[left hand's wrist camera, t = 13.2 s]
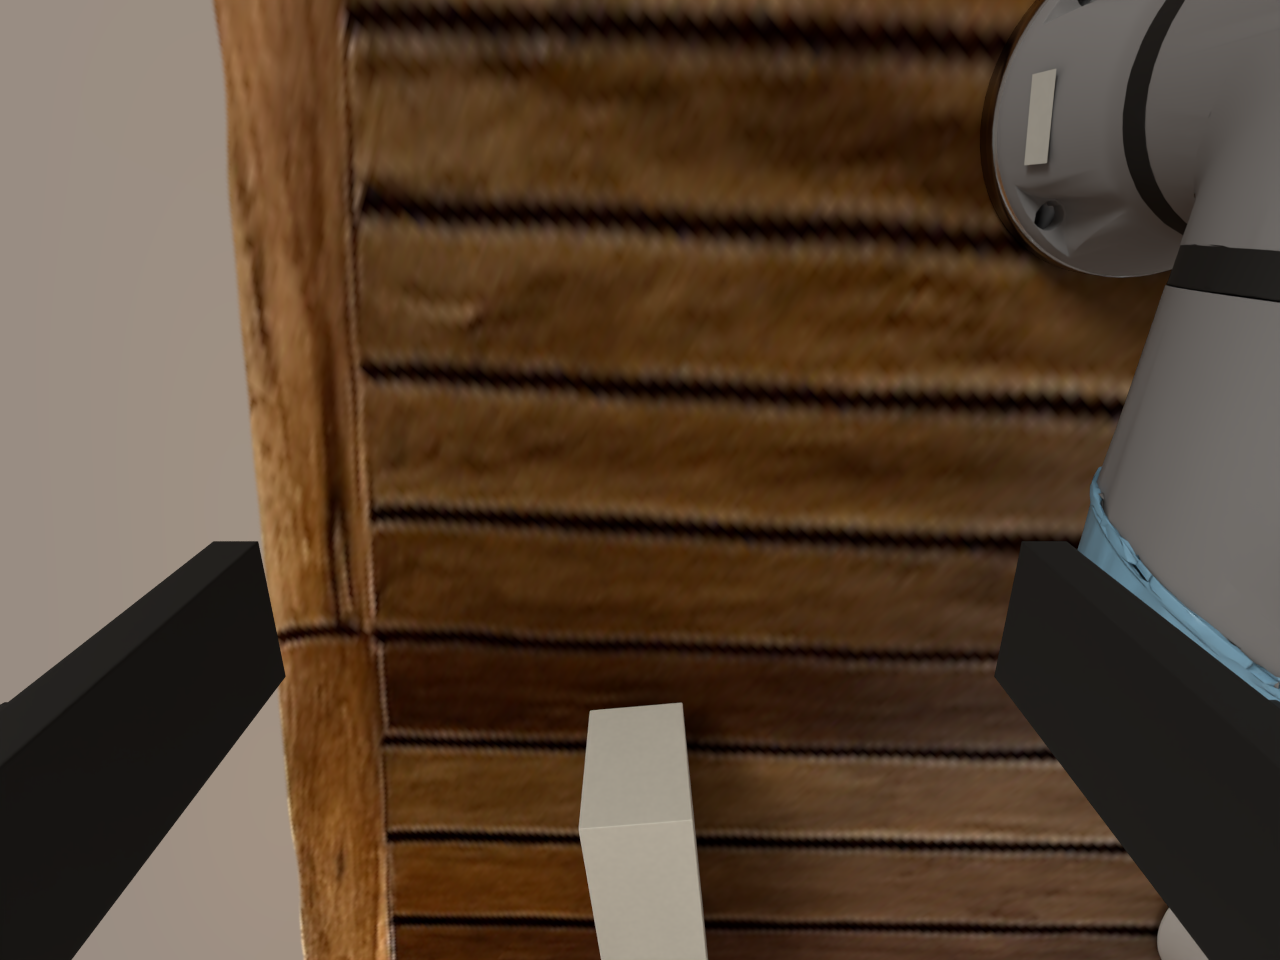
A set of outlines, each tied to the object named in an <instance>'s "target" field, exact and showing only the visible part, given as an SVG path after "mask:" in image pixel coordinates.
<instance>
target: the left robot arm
mask: <svg viewBox="0 0 1280 960" xmlns="http://www.w3.org/2000/svg"><path fill="white" fill-rule="evenodd" d="M980 154H981V165H982V170H983V176H984V181H985V184H986V188H987V191H988V194H989V197H990V199H991V202H992V204H993V207H994V209H995V210H996V212H997V214H998V216H999V218H1000V220H1001V221H1002V222H1003V224H1004V225H1005V227H1006V228H1007V230H1008V231H1009V232H1010V233H1011V234H1012V236H1013V237H1014V238H1015V239H1016V240H1017V241H1018V242H1019V243H1020V244H1021V245H1022V246H1024V247H1025V248H1026V249H1027V250H1028V251H1030V252H1031V253H1033V254H1034V255H1035V256H1037V257H1038V258H1040V259H1042V260H1044V261H1046V262H1048V263H1050V264H1052V265H1055V266H1057V267H1060V268H1062V269H1066V270H1070V271H1073V272H1079V273H1085V274H1092V275H1098V276H1105V277H1121V278H1122V277H1138V276H1145V275H1152V274H1156V273H1160V272H1164V271H1168V270H1171V269H1172V271H1171V274H1170V277H1169V280H1168V282H1167V284H1168V285H1165V288H1164V291H1163V294H1162V296H1161V299H1160V302H1159V305H1158V308H1157V311H1156V314H1155V317H1154V320H1153V323H1152V326H1151V328H1150V331H1149V334H1148V337H1147V340H1146V343H1145V346H1144V349H1143V352H1142V355H1141V358H1140V361H1139V363H1138V366H1137V369H1136V372H1135V375H1134V378H1133V381H1132V384H1131V387H1130V390H1129V393H1128V395H1127V398H1126V401H1125V404H1124V407H1123V410H1122V413H1121V416H1120V419H1119V422H1118V425H1117V427H1116V430H1115V433H1114V436H1113V438H1112V441H1111V444H1110V446H1109V449H1108V452H1107V455H1106V457H1105V460H1104V463H1103V465H1102V467H1099V468H1098V469H1097V471H1096V473H1095V475H1094V477H1093V480H1092V483H1091V485H1090V501H1091V503H1090V507H1089V511H1088V515H1087V519H1086V523H1085V526H1084V530H1083V534H1082V537H1081V540H1080V544H1079V547H1078V550H1077V549H1075V548H1074V547H1073V546H1072V545H1070V544H1069V543H1068V542H1067V541H1022V543H1021V548H1020V553H1019V558H1018V563H1017V568H1016V573H1015V578H1014V583H1013V588H1012V593H1011V597H1010V602H1009V607H1008V612H1007V617H1006V622H1005V627H1004V632H1003V637H1002V642H1001V647H1000V651H999V656H998V661H997V666H996V671H995V676H994V677H995V678H996V679H997V681H998V682H999V683H1000V685H1001V686H1002V687H1003V688H1004V690H1005V691H1006V692H1007V694H1008V695H1009V696H1010V698H1011V699H1012V700H1013V702H1014V703H1015V704H1016V706H1017V707H1018V708H1019V710H1020V711H1021V712H1022V714H1023V715H1024V716H1025V718H1026V719H1027V720H1028V722H1029V723H1030V724H1031V726H1032V727H1033V728H1034V729H1035V731H1036V732H1037V733H1038V735H1039V736H1040V737H1041V739H1042V740H1043V741H1044V743H1045V744H1046V745H1047V747H1048V748H1049V749H1050V751H1051V752H1052V753H1053V755H1054V756H1055V757H1056V759H1057V760H1058V761H1059V763H1060V764H1061V765H1062V767H1063V768H1064V769H1065V771H1066V772H1067V773H1068V774H1069V776H1070V777H1071V778H1072V780H1073V781H1074V782H1075V784H1076V785H1077V786H1078V788H1079V789H1080V790H1081V792H1082V793H1083V794H1084V796H1085V797H1086V798H1087V800H1088V801H1089V802H1090V804H1091V805H1092V806H1093V808H1094V809H1095V810H1096V812H1097V813H1098V814H1099V815H1100V817H1101V818H1102V819H1103V821H1104V822H1105V823H1106V825H1107V826H1108V827H1109V829H1110V830H1111V831H1112V833H1113V834H1114V835H1115V837H1116V838H1117V839H1118V841H1119V842H1120V843H1121V845H1122V846H1123V847H1124V849H1125V850H1126V851H1127V853H1128V854H1129V855H1130V856H1131V858H1132V859H1133V860H1134V862H1135V863H1136V864H1137V866H1138V867H1139V868H1140V870H1141V871H1142V872H1143V874H1144V875H1145V876H1146V878H1147V879H1148V880H1149V882H1150V883H1151V884H1152V886H1153V887H1154V888H1155V890H1156V891H1157V892H1158V894H1159V895H1160V896H1161V897H1162V899H1163V900H1164V901H1165V903H1166V904H1167V905H1168V907H1169V908H1170V909H1171V911H1172V912H1173V913H1174V915H1175V916H1176V917H1177V919H1178V920H1179V921H1180V923H1181V924H1182V925H1183V927H1184V928H1185V929H1186V931H1187V932H1188V933H1189V935H1190V936H1191V937H1192V939H1193V940H1194V941H1195V942H1196V944H1197V945H1198V946H1199V948H1200V949H1201V950H1202V952H1203V953H1204V954H1205V956H1206V957H1207V958H1208V960H1280V0H1036V1H1035V2H1034V3H1033V4H1032V6H1031V7H1030V8H1029V9H1028V11H1027V12H1026V13H1025V14H1024V16H1023V17H1022V19H1021V20H1020V22H1019V23H1018V25H1017V26H1016V28H1015V29H1014V31H1013V32H1012V34H1011V36H1010V38H1009V39H1008V41H1007V43H1006V45H1005V47H1004V49H1003V51H1002V53H1001V55H1000V57H999V59H998V61H997V64H996V66H995V69H994V72H993V74H992V77H991V80H990V83H989V86H988V90H987V94H986V97H985V102H984V107H983V112H982V120H981V129H980ZM285 677H286V676H285V671H284V666H283V661H282V656H281V651H280V647H279V642H278V637H277V632H276V627H275V622H274V617H273V612H272V607H271V602H270V597H269V593H268V588H267V583H266V578H265V573H264V568H263V563H262V558H261V553H260V548H259V543H258V541H241V542H240V541H232V542H231V541H220V542H219V541H214V542H212V543H211V544H210V545H208V546H207V547H206V548H205V549H203V550H202V551H201V552H199V553H198V554H197V555H196V556H194V557H193V558H192V559H190V560H189V561H188V562H187V563H185V564H184V565H183V566H182V567H180V568H179V569H178V570H176V571H175V572H174V573H173V574H171V575H170V576H169V577H167V578H166V579H165V580H164V581H162V582H161V583H160V584H159V585H157V586H156V587H155V588H154V589H152V590H151V591H150V592H148V593H147V594H146V595H145V596H143V597H142V598H141V599H139V600H138V601H137V602H136V603H134V604H133V605H132V606H131V607H129V608H128V609H127V610H125V611H124V612H123V613H122V614H120V615H119V616H118V617H116V618H115V619H114V620H113V621H111V622H110V623H109V624H107V625H106V626H105V627H104V628H102V629H101V630H100V631H99V632H97V633H96V634H95V635H93V636H92V637H91V638H90V639H88V640H87V641H86V642H84V643H83V644H82V645H81V646H79V647H78V648H77V649H76V650H74V651H73V652H72V653H70V654H69V655H68V656H67V657H65V658H64V659H63V660H62V661H60V662H59V663H58V664H56V665H55V666H54V667H53V668H51V669H50V670H49V671H47V672H46V673H45V674H44V675H42V676H41V677H40V678H38V679H37V680H36V681H35V682H33V683H32V684H31V685H30V686H28V687H27V688H26V689H24V690H23V691H22V692H21V693H19V694H18V695H17V696H16V697H14V698H13V699H12V700H10V701H9V702H5V703H2V704H1V705H0V960H72V958H73V957H74V956H75V954H76V953H77V952H78V950H79V949H80V948H81V946H82V945H83V944H84V942H85V941H86V940H87V938H88V937H89V936H90V935H91V933H92V932H93V931H94V929H95V928H96V927H97V925H98V924H99V923H100V921H101V920H102V919H103V917H104V916H105V915H106V913H107V912H108V911H109V909H110V908H111V907H112V905H113V904H114V903H115V901H116V900H117V899H118V897H119V896H120V895H121V894H122V892H123V891H124V890H125V888H126V887H127V886H128V884H129V883H130V882H131V880H132V879H133V878H134V876H135V875H136V874H137V872H138V871H139V870H140V868H141V867H142V866H143V864H144V863H145V862H146V860H147V859H148V858H149V856H150V855H151V854H152V852H153V851H154V850H155V849H156V847H157V846H158V845H159V843H160V842H161V841H162V839H163V838H164V837H165V835H166V834H167V833H168V831H169V830H170V829H171V827H172V826H173V825H174V823H175V822H176V821H177V819H178V818H179V817H180V815H181V814H182V813H183V812H184V810H185V809H186V808H187V806H188V805H189V803H190V802H191V801H192V800H193V798H194V797H195V796H196V794H197V793H198V792H199V790H200V789H201V788H202V786H203V785H204V784H205V782H206V781H207V780H208V778H209V777H210V776H211V774H212V773H213V772H214V771H215V769H216V768H217V767H218V765H219V764H220V762H221V761H222V760H223V759H224V757H225V756H226V755H227V753H228V752H229V751H230V749H231V748H232V747H233V745H234V744H235V743H236V741H237V740H238V739H239V737H240V736H241V735H242V733H243V732H244V731H245V729H246V728H247V727H248V726H249V724H250V723H251V722H252V720H253V719H254V718H255V716H256V715H257V714H258V712H259V711H260V710H261V708H262V707H263V706H264V704H265V703H266V702H267V700H268V699H269V698H270V696H271V695H272V694H273V692H274V691H275V690H276V688H277V687H278V686H279V685H280V683H281V682H282V681H283V679H284V678H285Z"/></svg>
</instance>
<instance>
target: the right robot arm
mask: <svg viewBox="0 0 1280 960" xmlns="http://www.w3.org/2000/svg"><path fill="white" fill-rule="evenodd" d="M1157 947H1158V952H1159V955H1160V957H1161V960H1208V958H1207V957H1206V956H1205V954H1204V953H1203V952H1202V950H1201V949H1200V948H1199V946H1198V945H1197V944H1196V942H1195V941H1194V940H1193V939H1192V937H1191V936H1190V935H1189V933H1188V932H1187V931H1186V929H1185V928H1184V927H1183V925H1182V924H1181V923H1180V921H1179V920H1178V919H1177V917H1176V916H1175V915H1174V913H1173V912H1172V911H1171V909H1170V908H1168V910H1167V911H1166V913H1165V915H1164V917H1163V919H1162V921H1161V924H1160V926H1159V930H1158V935H1157Z"/></svg>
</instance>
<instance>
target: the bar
mask: <svg viewBox="0 0 1280 960" xmlns="http://www.w3.org/2000/svg"><path fill="white" fill-rule="evenodd" d="M579 834H580V840H581V846H582V851H583V857H584V863H585V869H586V874H587V880H588V886H589V892H590V897H591V903H592V909H593V915H594V920H595V926H596V932H597V938H598V943H599V949H600V955H601V960H708V955H707V945H706V935H705V925H704V915H703V905H702V894H701V884H700V874H699V864H698V854H697V844H696V834H695V824H694V814H693V804H692V794H691V784H690V774H689V764H688V754H687V744H686V734H685V724H684V714H683V704H682V703H672V704H660V705H649V706H637V707H626V708H614V709H602V710H591V711H590V715H589V726H588V736H587V747H586V757H585V768H584V778H583V789H582V799H581V810H580V820H579Z"/></svg>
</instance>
